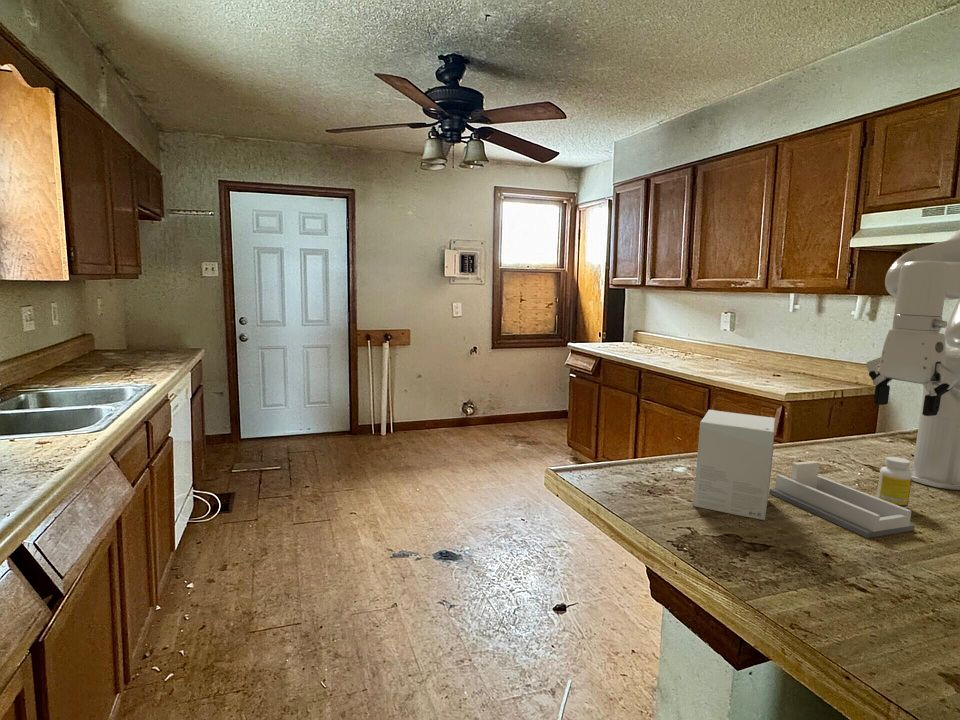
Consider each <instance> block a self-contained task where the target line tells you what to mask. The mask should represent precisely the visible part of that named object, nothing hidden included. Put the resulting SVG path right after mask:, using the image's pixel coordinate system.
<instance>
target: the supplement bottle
mask: <svg viewBox="0 0 960 720" xmlns="http://www.w3.org/2000/svg"><path fill="white" fill-rule="evenodd" d="M884 464H885V466H883V467H881V468H880V469H879V475H878V482H877V489H876V496H875V497H877V498H880V499H882V500H885V501H888V502H890V503H893V504H895V505H898V506H901V507H903V508H906V509H908V506H909V499H910V494H911V488H912V481H913V480H912V474H911V473H910V472H909V471H907V469H909V468H910V467H911V466H910V464H911V461H910V460H908V459H906V458H902V457H897V456H886V458H885V462H884Z"/></svg>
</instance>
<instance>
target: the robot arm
mask: <svg viewBox="0 0 960 720" xmlns="http://www.w3.org/2000/svg"><path fill="white" fill-rule="evenodd" d="M884 286H885V290H886V291H887V293H888V294H889V295H890V296H891V297H896V298H895V304H894V305H895V306H894V311H893V312H894V314H893V319H892V328H891V329H889V330H888V332H887V334H886V338H885V340H884V343H883V348H882V352H881V356H880V357H877V358H875V359H872V360H869V361H867V362H865V363H866V368H867V370H868V376H869V377H870V378H871V380H872V384H873V385H874V386H875V388H874V389H875V390H874V396H873V399H874V401H873V404H874V405H876V406H878V405H879V406H880V405H882V406H884V405H887V404H888V403H889V398H890V390H891V389H890V388H891V386H890V384H889V383H891V381H892V380H896V381H902V382H907V383H911V384H918V385H922V387H923V389H922V400H921V406H920V407H921V408H920V414H919V422H918V427H917V428H918V429H917V436H916V442H915V449H914V456H913V463H912V464H913V465H912V467H911V466H909V469H907V471H909V472H910V473H911V474H912V481H913V482H916V483H919V484H923V485H926V486H929V487H935V488H939V489H946V490H953V491H954V490H957V491H960V229H959V230H957V231H956V232H955V233H954V234H953V235H952V236H951V237H950V238H948V239H947V240H944V241H943V240H942V241H940V242H935V243H933V244H930V245H926V246H923V247H920V248H916V249H911V250H910V251H908V252H906V253H904V254H903V255H901V256H899V258H897V259H896V260H894V262H893V263H892V264H891V266H890V267H889V268H888V270H887V272H886V274H885V279H884ZM945 300H957V302H956V303H955V306H954V309H953V311H952V314H951V315H950V318H949V320H948V321H947V320H943V314H944V313H943V312H944V305H945ZM942 328H943V329H945V332H944V333H940V331H941V330H942ZM878 366H879V367H878ZM878 369H879V370H878Z"/></svg>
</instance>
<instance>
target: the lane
mask: <svg viewBox="0 0 960 720" xmlns="http://www.w3.org/2000/svg"><path fill="white" fill-rule="evenodd" d="M769 494H770V495H772V496H774V497H776V498H778V499H781V500H782V501H784V502H787V503H790V504H791V505H794V506H795V507H798V508H800V509H802V510H805V511H807V512H809V513H811V514H814V515H816V516H817V517H820V518H822V519H824V520H827V521H828V522H830V523H833V524H836V525H837V526H840V527H842V528H844V529H846V530H847V531H850V532H852V533H854V534H857V535H859V536H861V537H864V538H866V539H869V538H876V537H882V536H889V535H895V534H900V533H905V532H913V531H915V526H916V525H915V524H913V523H911V516H912V510H910V509H908V508H907V509H906V508H903V507H901V506H898V505H895V504H893V503H890V502H888V501H885V500H882V499H880V498H877V497H876V496H874V495H871V494H869V493H866V492H863V491H861V490H858V489H856V488H853V487H851V486H848V485H845V484H843V483H840V482H837V481H835V480H833V479H830V478H828V477H825V476H822V475H819V474H818V479H817V487H816V489H815V488H812V487H810V486H807V485H805V484H802V483H800V482H797V481H795V480H793V479H791V477H787V476H785V475H783V474H776V477H775V486H774V488H769V493H768V495H769Z"/></svg>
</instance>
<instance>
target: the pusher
mask: <svg viewBox="0 0 960 720" xmlns="http://www.w3.org/2000/svg"><path fill="white" fill-rule="evenodd" d="M819 468H820V462H819V461H816V460H808V461H800V462H799V461H798V462H792V467H791V477H790V479H793V480H795V481H797V482H800V483H802V484H805V485H807V486H810V487H812V488H815V489H816V487H817V479H818V475H819Z"/></svg>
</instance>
